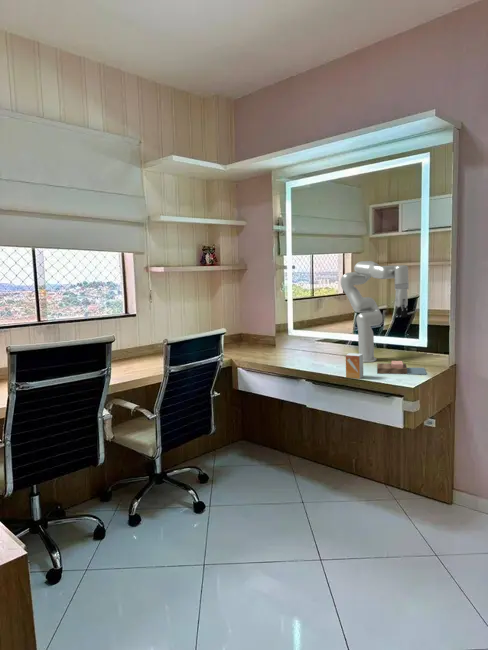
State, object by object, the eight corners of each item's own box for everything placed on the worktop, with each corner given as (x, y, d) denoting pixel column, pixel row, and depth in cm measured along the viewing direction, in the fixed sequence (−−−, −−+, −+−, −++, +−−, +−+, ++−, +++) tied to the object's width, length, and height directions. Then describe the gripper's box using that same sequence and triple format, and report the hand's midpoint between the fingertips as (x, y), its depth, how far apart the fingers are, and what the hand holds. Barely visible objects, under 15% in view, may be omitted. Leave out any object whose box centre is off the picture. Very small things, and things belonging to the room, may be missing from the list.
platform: (377, 373, 249) (377, 368, 248) (377, 368, 261) (377, 363, 261) (407, 373, 244) (407, 368, 243) (405, 368, 256) (405, 363, 256)
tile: (391, 367, 248) (391, 364, 247) (391, 364, 256) (391, 360, 256) (403, 367, 246) (403, 364, 246) (402, 364, 254) (402, 361, 254)
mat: (407, 374, 243) (407, 373, 243) (405, 368, 257) (405, 367, 257) (426, 374, 240) (426, 374, 240) (423, 368, 254) (423, 367, 254)
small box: (345, 377, 243) (345, 355, 242) (349, 375, 249) (349, 352, 247) (360, 379, 239) (359, 355, 237) (363, 376, 244) (363, 353, 242)
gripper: (391, 286, 259) (392, 315, 261) (398, 287, 242) (399, 318, 244) (404, 286, 259) (404, 314, 260) (412, 287, 241) (413, 317, 243)
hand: (402, 316), depth 252 cm, fingers open, 9 cm apart
